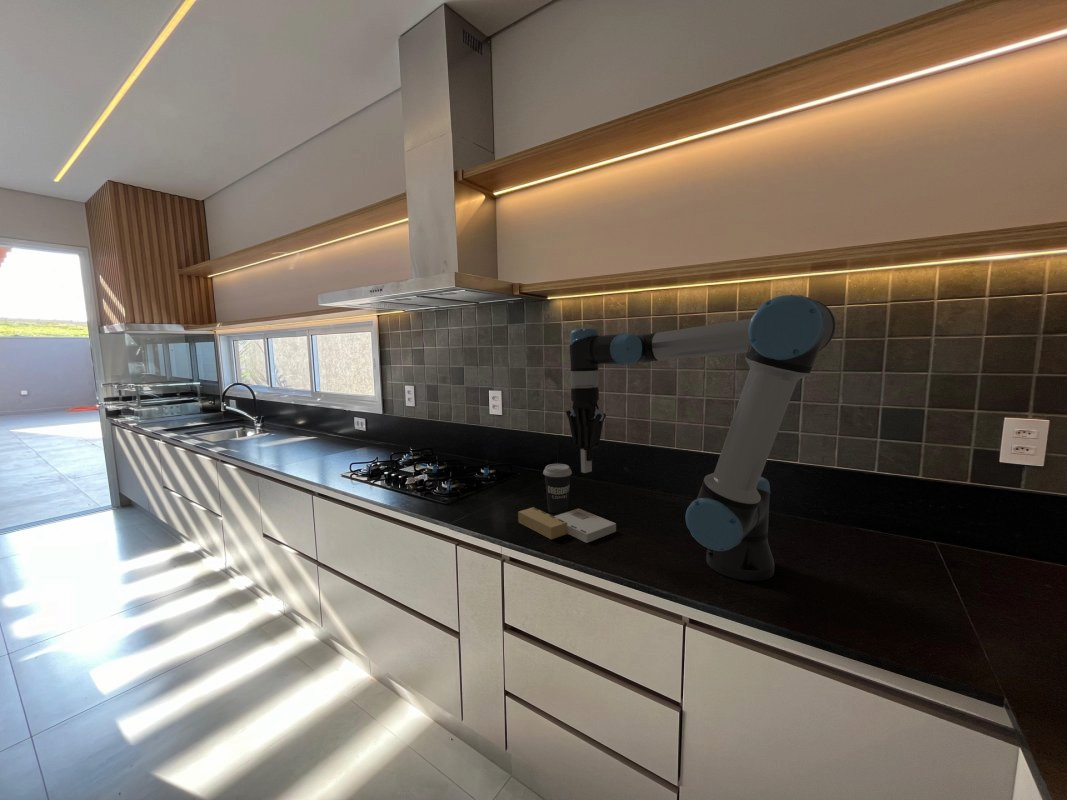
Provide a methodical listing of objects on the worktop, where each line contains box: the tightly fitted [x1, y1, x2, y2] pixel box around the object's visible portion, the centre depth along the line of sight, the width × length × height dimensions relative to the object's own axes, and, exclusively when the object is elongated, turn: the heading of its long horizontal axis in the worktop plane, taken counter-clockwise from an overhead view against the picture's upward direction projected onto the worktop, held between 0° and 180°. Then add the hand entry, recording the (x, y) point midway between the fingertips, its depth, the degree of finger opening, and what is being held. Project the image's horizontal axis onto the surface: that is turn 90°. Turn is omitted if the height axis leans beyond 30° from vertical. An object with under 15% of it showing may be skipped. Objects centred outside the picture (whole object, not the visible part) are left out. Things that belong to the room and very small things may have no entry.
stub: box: [517, 506, 568, 540], centre depth 131 cm, size 16×6×4 cm, turn 38°
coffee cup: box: [542, 463, 573, 515], centre depth 146 cm, size 10×10×15 cm
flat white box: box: [553, 508, 617, 544], centre depth 131 cm, size 16×12×3 cm
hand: (586, 471), depth 120 cm, fingers closed
